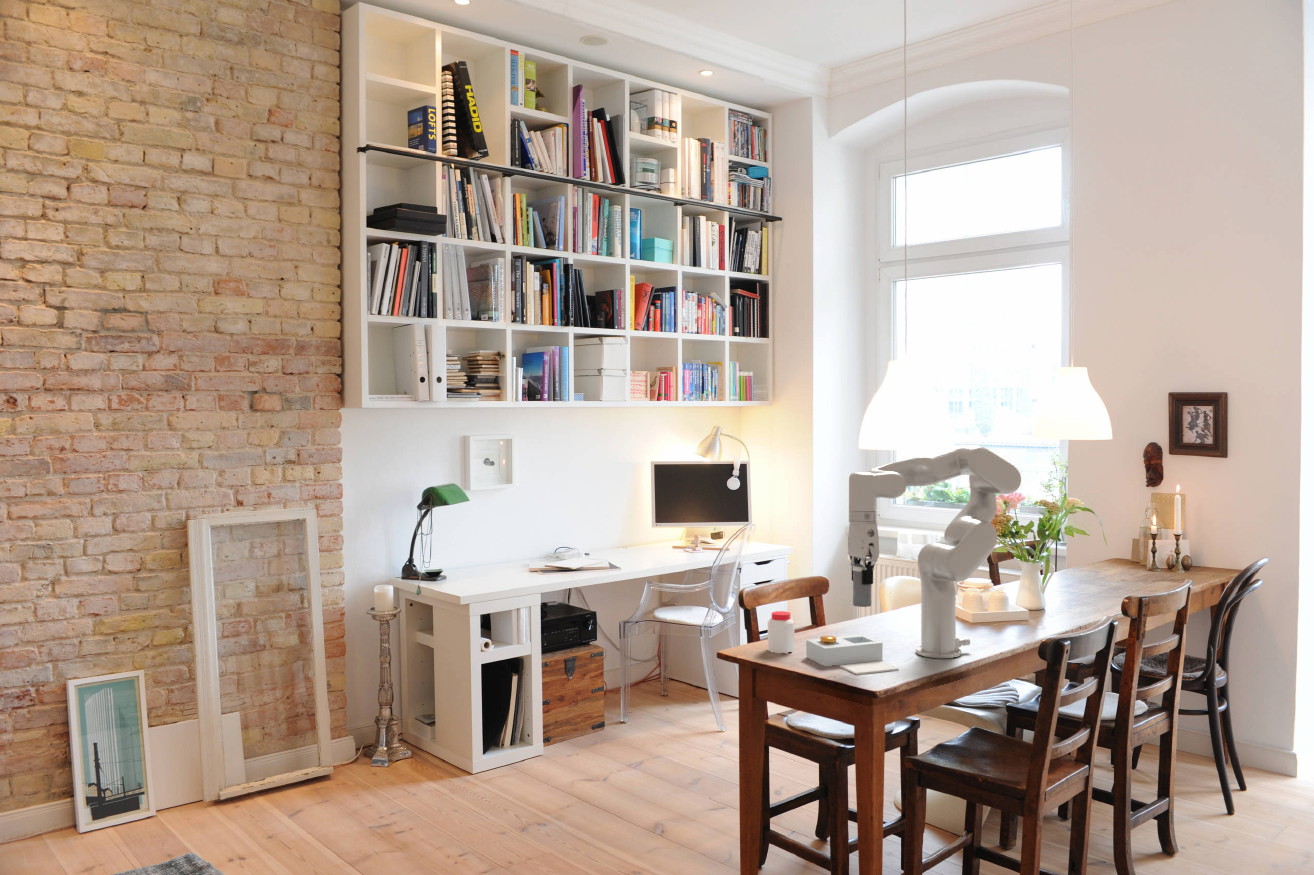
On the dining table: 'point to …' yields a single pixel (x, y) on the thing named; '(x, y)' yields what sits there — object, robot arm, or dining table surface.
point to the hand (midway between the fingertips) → (862, 581)
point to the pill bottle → (781, 632)
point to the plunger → (828, 640)
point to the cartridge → (860, 588)
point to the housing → (845, 650)
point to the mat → (869, 667)
